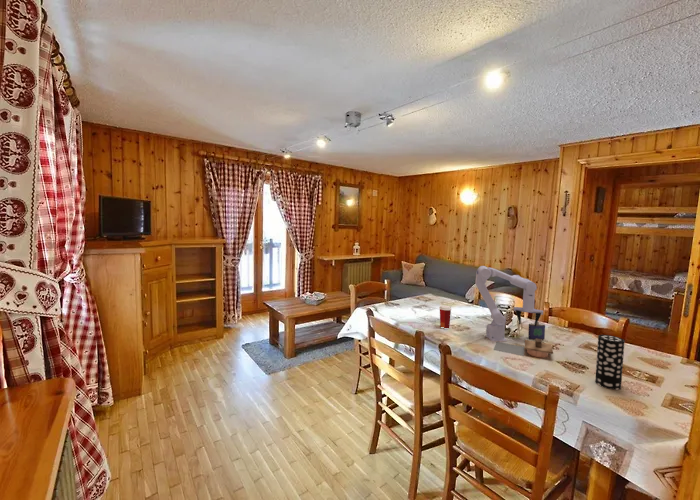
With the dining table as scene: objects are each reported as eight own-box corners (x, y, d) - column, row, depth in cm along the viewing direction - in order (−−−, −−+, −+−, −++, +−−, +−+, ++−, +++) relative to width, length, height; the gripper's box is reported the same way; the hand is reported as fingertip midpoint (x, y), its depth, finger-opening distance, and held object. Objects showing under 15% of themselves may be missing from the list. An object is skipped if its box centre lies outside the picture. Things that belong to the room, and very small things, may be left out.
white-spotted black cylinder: (590, 379, 131) (593, 335, 130) (607, 379, 132) (610, 334, 130) (607, 390, 123) (611, 342, 122) (626, 389, 124) (630, 341, 122)
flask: (543, 338, 181) (543, 320, 180) (546, 340, 178) (546, 322, 177) (527, 338, 181) (528, 320, 180) (529, 339, 178) (530, 322, 177)
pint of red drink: (450, 326, 201) (451, 305, 200) (450, 330, 194) (451, 308, 193) (438, 325, 204) (439, 304, 203) (438, 328, 197) (438, 307, 196)
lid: (524, 348, 155) (525, 341, 155) (524, 341, 165) (525, 334, 165) (553, 353, 149) (553, 346, 149) (551, 345, 159) (551, 338, 159)
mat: (493, 350, 162) (493, 349, 162) (496, 342, 174) (496, 341, 174) (523, 356, 155) (523, 355, 155) (524, 347, 166) (524, 346, 166)
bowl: (535, 358, 152) (536, 351, 152) (523, 351, 161) (523, 344, 161) (552, 358, 153) (552, 350, 153) (539, 350, 162) (539, 343, 162)
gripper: (513, 301, 174) (512, 324, 175) (543, 304, 166) (542, 328, 167) (514, 298, 180) (513, 321, 181) (543, 302, 172) (542, 325, 173)
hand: (527, 324), depth 175 cm, fingers open, 7 cm apart
